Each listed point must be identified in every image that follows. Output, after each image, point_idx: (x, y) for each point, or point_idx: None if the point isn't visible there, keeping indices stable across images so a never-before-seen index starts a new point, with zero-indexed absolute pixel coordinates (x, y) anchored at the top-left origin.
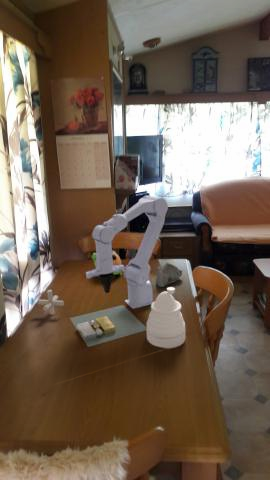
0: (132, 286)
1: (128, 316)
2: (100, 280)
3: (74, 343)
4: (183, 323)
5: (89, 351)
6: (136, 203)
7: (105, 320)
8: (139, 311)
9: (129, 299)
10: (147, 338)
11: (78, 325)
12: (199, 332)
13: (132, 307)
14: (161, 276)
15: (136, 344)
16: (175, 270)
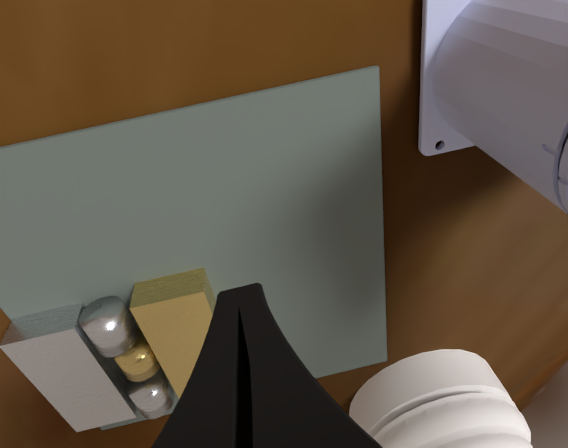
0: (562, 207)
1: (349, 246)
2: (167, 430)
3: (27, 401)
4: None
5: (111, 440)
6: None
7: (194, 333)
8: (440, 191)
9: (453, 97)
10: (352, 415)
11: (14, 356)
12: (540, 385)
13: (423, 151)
14: None
15: None
16: None
